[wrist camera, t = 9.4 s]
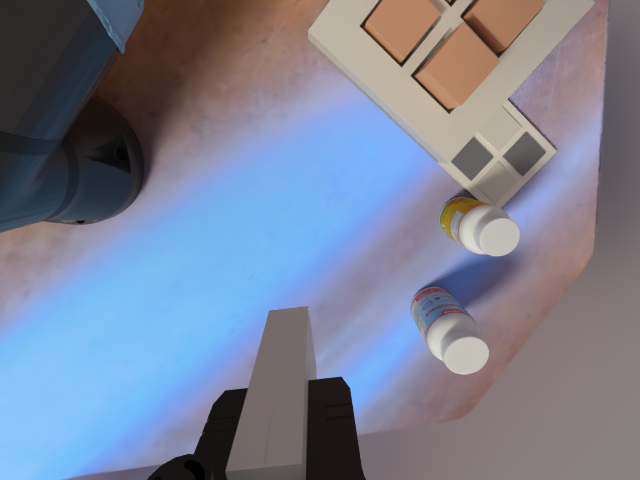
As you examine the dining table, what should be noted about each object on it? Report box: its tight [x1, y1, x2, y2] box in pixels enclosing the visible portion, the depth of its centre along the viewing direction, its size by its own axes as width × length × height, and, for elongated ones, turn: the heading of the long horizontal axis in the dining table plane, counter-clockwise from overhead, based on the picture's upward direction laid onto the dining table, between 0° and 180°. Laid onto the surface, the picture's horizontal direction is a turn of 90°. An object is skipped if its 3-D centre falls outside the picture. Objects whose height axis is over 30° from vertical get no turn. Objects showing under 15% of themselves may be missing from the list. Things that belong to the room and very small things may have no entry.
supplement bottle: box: [439, 197, 520, 256], centre depth 37 cm, size 5×5×10 cm
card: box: [437, 100, 557, 208], centre depth 39 cm, size 10×10×1 cm
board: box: [308, 0, 595, 164], centre depth 34 cm, size 20×20×4 cm
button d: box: [363, 0, 441, 65], centre depth 33 cm, size 5×5×3 cm
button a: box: [461, 0, 546, 54], centre depth 33 cm, size 5×5×3 cm
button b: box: [415, 22, 500, 109], centre depth 33 cm, size 5×5×3 cm
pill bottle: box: [411, 287, 489, 374], centre depth 39 cm, size 6×6×11 cm
